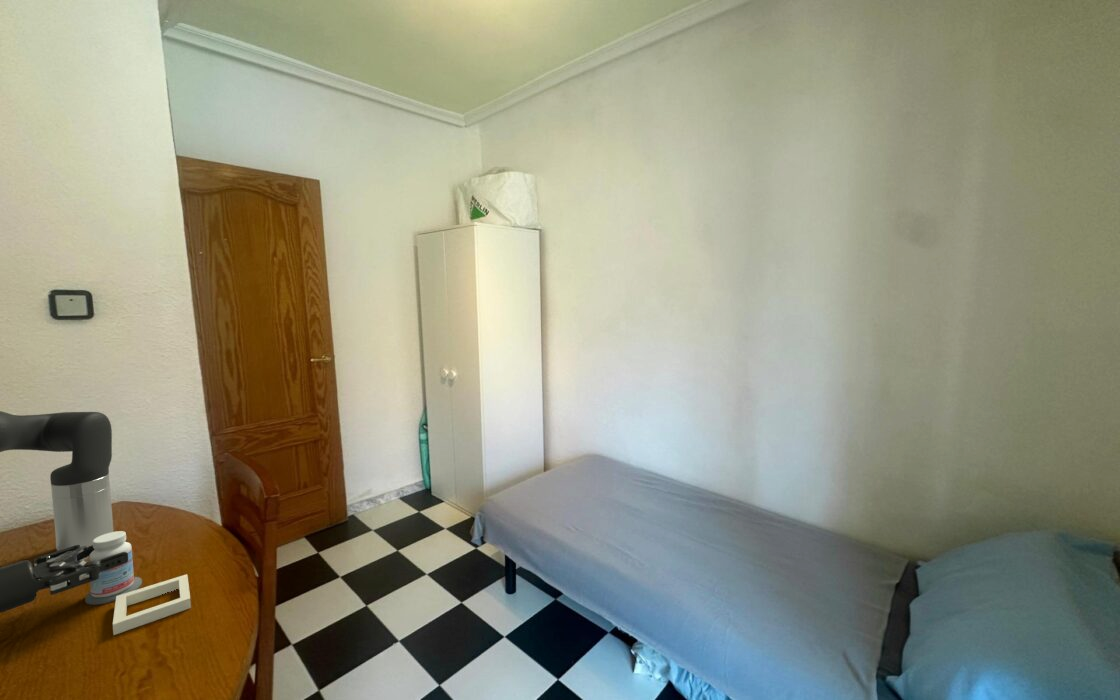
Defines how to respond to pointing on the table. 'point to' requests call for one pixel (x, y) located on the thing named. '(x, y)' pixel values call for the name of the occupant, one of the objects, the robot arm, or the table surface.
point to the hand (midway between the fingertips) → (120, 550)
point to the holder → (154, 613)
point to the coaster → (97, 601)
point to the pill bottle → (114, 577)
